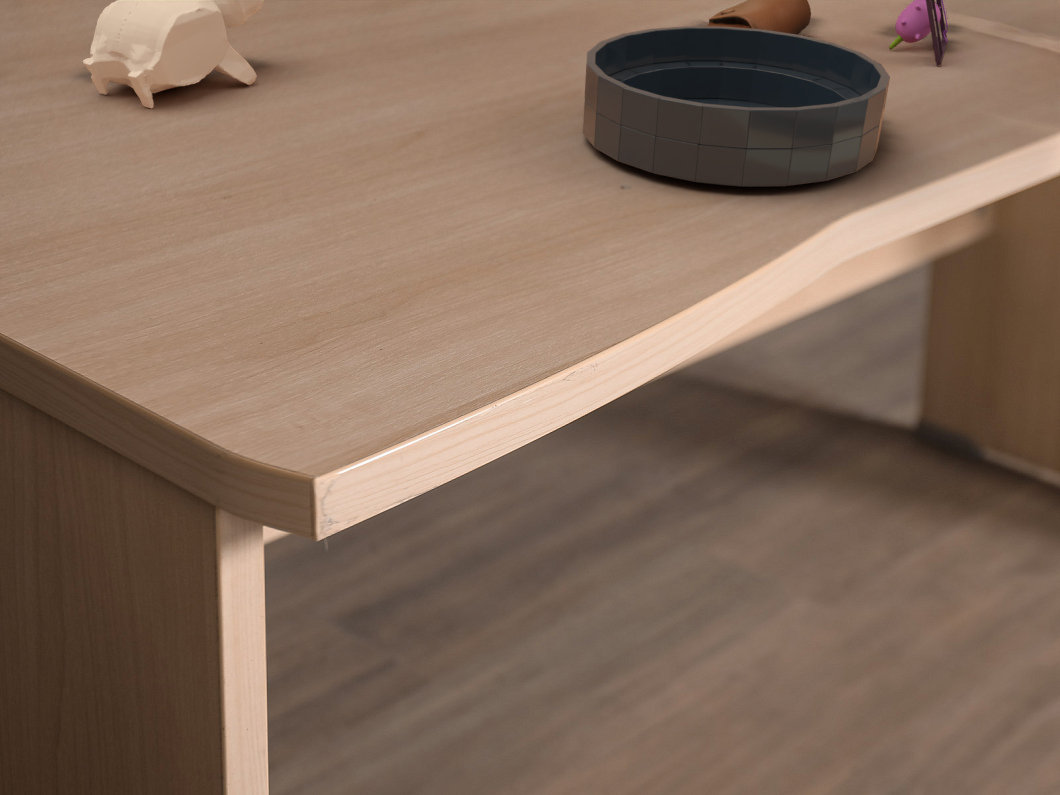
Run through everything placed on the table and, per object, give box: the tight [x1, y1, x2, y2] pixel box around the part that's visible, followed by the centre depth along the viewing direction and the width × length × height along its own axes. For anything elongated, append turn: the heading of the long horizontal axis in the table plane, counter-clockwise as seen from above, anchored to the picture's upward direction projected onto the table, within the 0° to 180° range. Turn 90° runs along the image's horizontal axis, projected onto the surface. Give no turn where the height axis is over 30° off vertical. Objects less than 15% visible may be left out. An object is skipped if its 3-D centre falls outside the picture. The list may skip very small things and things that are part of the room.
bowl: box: [582, 25, 891, 188], centre depth 85 cm, size 20×20×6 cm
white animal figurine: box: [82, 0, 265, 109], centre depth 93 cm, size 9×8×15 cm
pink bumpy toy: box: [888, 0, 949, 67], centre depth 107 cm, size 7×5×9 cm
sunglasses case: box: [706, 0, 812, 35], centre depth 105 cm, size 18×7×7 cm
